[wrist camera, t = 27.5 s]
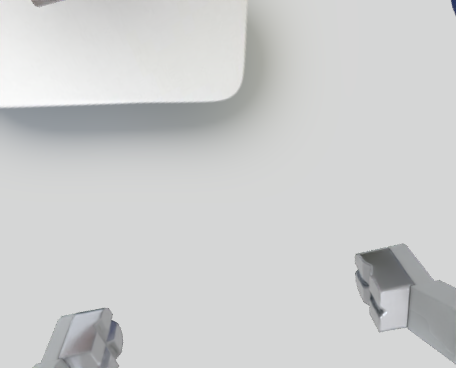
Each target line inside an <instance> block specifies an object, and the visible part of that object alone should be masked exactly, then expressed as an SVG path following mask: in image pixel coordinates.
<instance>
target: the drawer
mask: <svg viewBox="0 0 456 368" xmlns="http://www.w3.org/2000/svg"><path fill="white" fill-rule="evenodd" d="M31 1H32V2H33V4H34V5H35V6H37V7H40V6H44V5H48V4H52V3H56V2H60V1H64V0H31Z"/></svg>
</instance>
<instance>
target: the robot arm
mask: <svg viewBox="0 0 456 368" xmlns="http://www.w3.org/2000/svg"><path fill="white" fill-rule="evenodd" d="M355 264H356V266H357V268H358V270H357V271H356V273H355V275H356V283H357V287H358V291H359V293H360V296H361V298H362V300H363V302H364V303H366V304H368V305H369V306H370V316H371V317H372V319H373V321H374V323H375V325H376V327H377V329H378V331H379V332H383V331H389V330H395V329H401V328H406V327H408V329H409V330H410V331H411V332H413V333H414V334H415V335H417V336H418V337H420V338H421V339H422V340H424V341H425V342H426V343H428V344H429V345H430V346H432V347H433V348H434V349H436V350H437V351H438V352H440V353H442V354H443V355H444V356H445V357H447V358H448V359H449V360H451V361H452V362H453V363H455V364H456V288H455V287H453V286H451V285H449V284H446V283H444V282H442V281H440V280H437V281H434V280H433V278H432V277H431V276H430V275H429V273H428V272H427V271H426V270H425V268H424V267H423V266H422V264H421V263H420V262H419V261H418V259H417V258H416V257H415V256H414V254H413V253H412V252H411V250H410V249H409V248H408V247H407V245H405V244H399V245H394V246H389V247H387V248H386V247H385V248H380V249H376V250H371V251H367V252H362V253H358V254H356V255H355ZM112 315H113V314H112V313H111V311H110V310H109V308H102V309H96V310H91V311H85V312H80V313H76V314H71V315H65V316H62V317H61V318H60V319H59V320H58V321H57V324H56V327H55V329H54V331H53V334H52V336H51V339H50V341H49V344H48V346H47V349H46V351H45V354H44V356H43V359H42V361H41V363H38V364H36V365H35V366H34V367H33V368H118V367H119V365H118V363H117V362H116V359H117V357H118V356H119V355H120V354H121V352H122V346H123V336H122V331H121V328H120V326H119V324H118V323H117V322H115V321H112V320H111V319H112Z"/></svg>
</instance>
